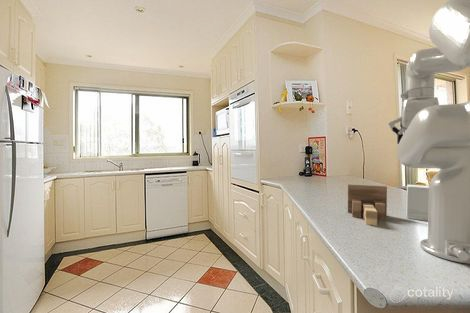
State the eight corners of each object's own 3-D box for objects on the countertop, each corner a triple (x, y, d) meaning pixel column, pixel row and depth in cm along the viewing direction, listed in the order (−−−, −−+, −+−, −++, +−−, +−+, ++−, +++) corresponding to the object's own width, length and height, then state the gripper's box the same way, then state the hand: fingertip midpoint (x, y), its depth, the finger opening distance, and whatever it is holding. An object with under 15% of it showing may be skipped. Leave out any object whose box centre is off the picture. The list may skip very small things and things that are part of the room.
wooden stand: (389, 220, 85) (390, 189, 85) (348, 216, 91) (348, 186, 90) (385, 215, 92) (386, 186, 91) (347, 211, 98) (347, 184, 97)
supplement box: (431, 221, 83) (431, 188, 83) (406, 218, 88) (406, 186, 87) (429, 217, 89) (430, 185, 89) (406, 213, 94) (406, 183, 93)
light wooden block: (377, 225, 79) (377, 211, 79) (365, 224, 81) (365, 210, 81) (372, 216, 90) (372, 203, 90) (361, 215, 92) (362, 202, 92)
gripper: (391, 96, 76) (390, 146, 77) (458, 90, 69) (457, 145, 70) (386, 100, 83) (386, 146, 84) (447, 95, 76) (446, 145, 76)
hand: (418, 145), depth 77 cm, fingers open, 9 cm apart
